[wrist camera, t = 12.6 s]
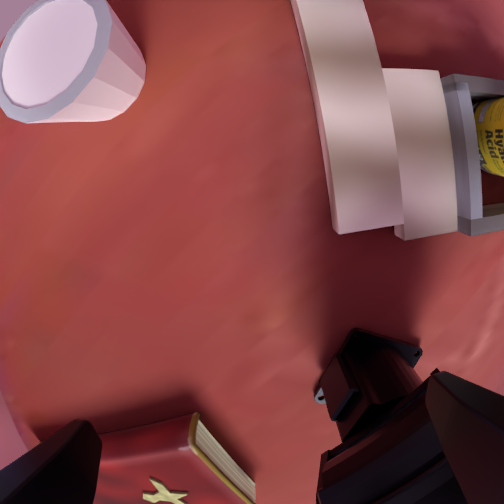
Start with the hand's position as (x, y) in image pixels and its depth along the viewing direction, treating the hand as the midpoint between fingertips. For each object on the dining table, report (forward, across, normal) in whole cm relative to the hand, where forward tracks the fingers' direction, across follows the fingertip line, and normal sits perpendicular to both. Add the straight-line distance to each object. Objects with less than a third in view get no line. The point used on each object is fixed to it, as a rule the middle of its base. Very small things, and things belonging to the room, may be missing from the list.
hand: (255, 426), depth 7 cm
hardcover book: (+14, +15, +20) cm, 28 cm away
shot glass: (+13, +7, -13) cm, 20 cm away
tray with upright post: (+13, -14, -10) cm, 21 cm away
